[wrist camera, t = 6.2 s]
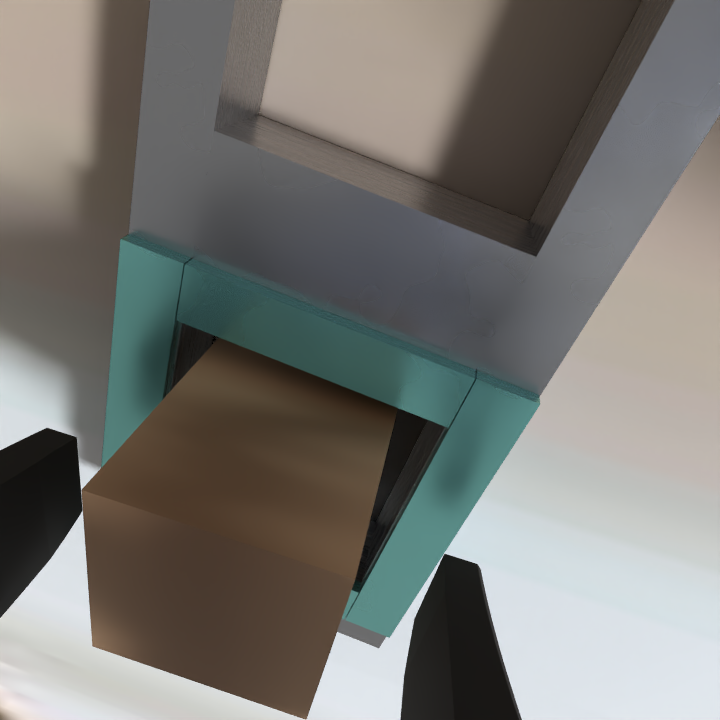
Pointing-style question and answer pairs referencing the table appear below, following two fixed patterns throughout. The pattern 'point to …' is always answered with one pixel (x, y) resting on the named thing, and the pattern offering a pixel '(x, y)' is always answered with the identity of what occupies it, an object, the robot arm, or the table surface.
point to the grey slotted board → (384, 258)
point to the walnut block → (236, 526)
